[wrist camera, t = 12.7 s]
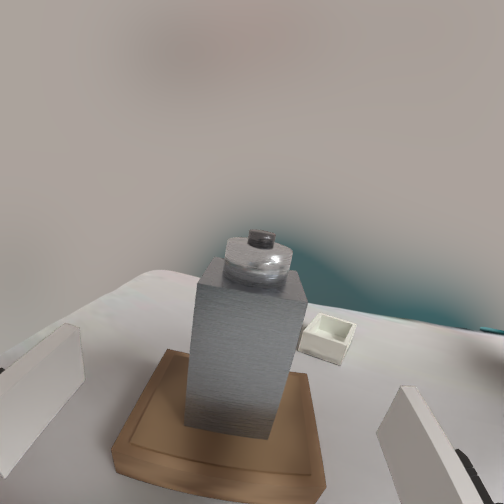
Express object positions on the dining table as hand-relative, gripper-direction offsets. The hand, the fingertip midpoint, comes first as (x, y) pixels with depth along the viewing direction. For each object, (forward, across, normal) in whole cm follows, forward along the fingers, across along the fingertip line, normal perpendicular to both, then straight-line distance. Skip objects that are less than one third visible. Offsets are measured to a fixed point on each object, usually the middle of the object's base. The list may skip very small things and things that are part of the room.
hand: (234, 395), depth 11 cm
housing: (+9, 0, -9) cm, 13 cm away
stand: (+9, 0, -12) cm, 15 cm away
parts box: (+28, +12, -12) cm, 33 cm away
